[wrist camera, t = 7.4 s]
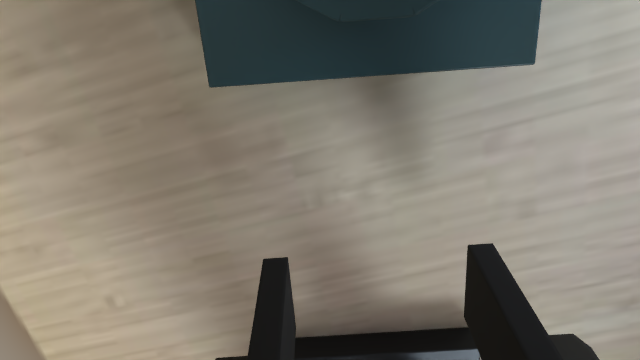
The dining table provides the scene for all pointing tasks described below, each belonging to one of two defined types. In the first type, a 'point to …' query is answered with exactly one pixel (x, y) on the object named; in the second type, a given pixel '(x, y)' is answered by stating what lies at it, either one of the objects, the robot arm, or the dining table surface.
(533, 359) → the robot arm
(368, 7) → the button block
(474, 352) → the lever bracket
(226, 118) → the dining table surface
